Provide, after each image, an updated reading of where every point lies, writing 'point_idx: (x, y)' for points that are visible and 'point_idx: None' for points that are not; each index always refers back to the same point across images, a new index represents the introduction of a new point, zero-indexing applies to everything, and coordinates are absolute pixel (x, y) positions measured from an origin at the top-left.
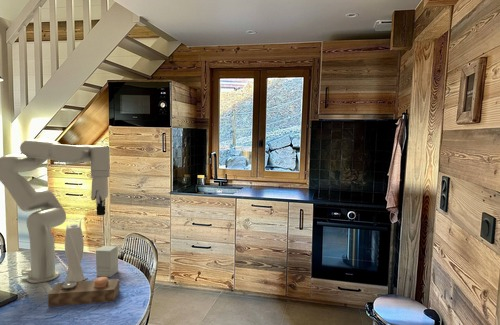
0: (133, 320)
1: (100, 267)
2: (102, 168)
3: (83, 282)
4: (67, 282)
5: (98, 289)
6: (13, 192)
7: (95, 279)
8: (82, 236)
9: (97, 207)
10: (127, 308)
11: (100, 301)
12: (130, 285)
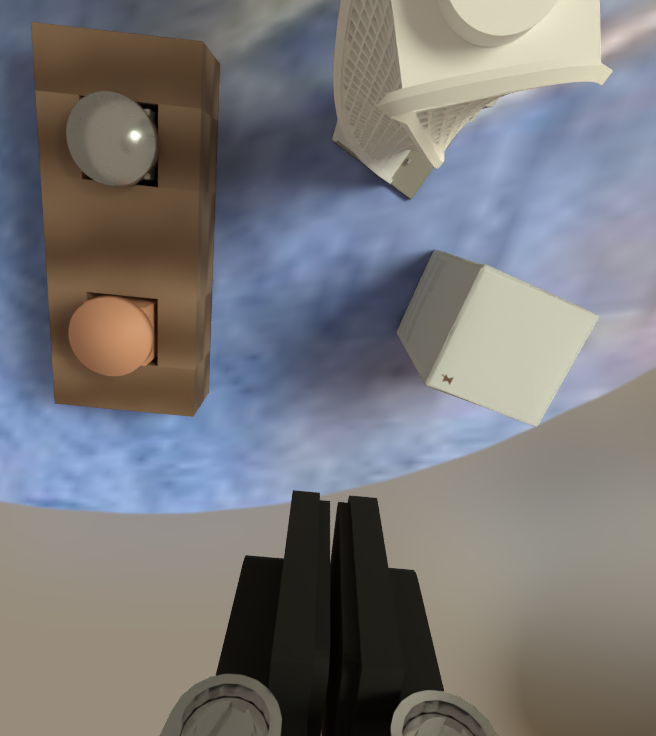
0: None
1: (432, 282)
2: None
3: (177, 218)
4: (134, 120)
5: (62, 322)
6: None
7: (112, 304)
8: (422, 155)
9: (274, 649)
10: (12, 440)
11: None
12: (254, 440)
